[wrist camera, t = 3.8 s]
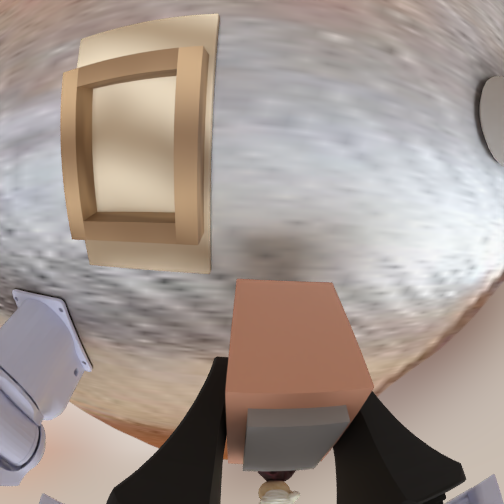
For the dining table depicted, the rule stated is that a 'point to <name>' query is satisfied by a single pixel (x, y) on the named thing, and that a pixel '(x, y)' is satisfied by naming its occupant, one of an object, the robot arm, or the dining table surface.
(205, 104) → the frame
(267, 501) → the grandmother figurine
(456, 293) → the dining table surface
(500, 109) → the can
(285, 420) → the salmon block
